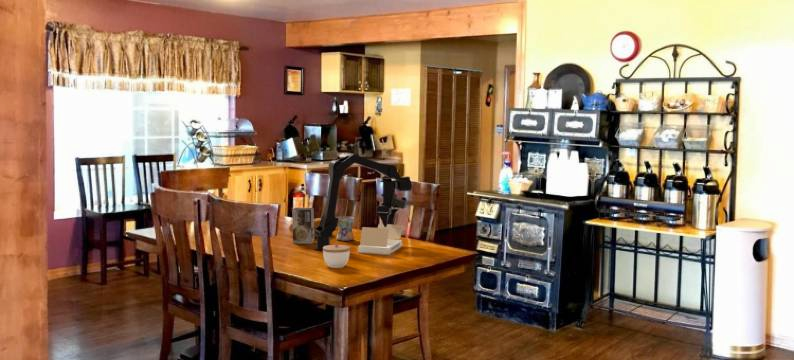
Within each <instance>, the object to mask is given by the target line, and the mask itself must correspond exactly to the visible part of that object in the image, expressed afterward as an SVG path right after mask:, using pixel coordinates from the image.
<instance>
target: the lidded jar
mask: <svg viewBox="0 0 794 360" xmlns="http://www.w3.org/2000/svg"><path fill="white" fill-rule="evenodd" d="M350 250H351V247H350V246H349V245H345V244H339V243H338V242H335V243H334V244H330V245H327V246H324V247H323V250H322V254H323V256H322V257H323V259H324V260H323V261H324V263H325V264H326V265H328V267H329V268H332V269H340V268H341V269H342V268H344V267H345V265H346V264H347V263H348V262H349V259H350V254H351V251H350Z"/></svg>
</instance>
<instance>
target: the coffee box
mask: <svg viewBox="0 0 794 360" xmlns="http://www.w3.org/2000/svg"><path fill="white" fill-rule="evenodd" d="M291 211H292V223H293V233H292V244H299V245H300V244H303V245H304V244H306V245H307V244H308V245H309V244H310V245H312V244H313V243H314V242H315V237H314V219H315V208H314V207H294V208H293V209H292V210H291Z"/></svg>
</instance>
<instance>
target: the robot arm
mask: <svg viewBox="0 0 794 360" xmlns="http://www.w3.org/2000/svg"><path fill="white" fill-rule="evenodd" d="M354 164H356V165H359V166H362V167H364V168H367V169H371V170H374V171H375V172H377V173H378V174H380V175H382V176H381V178H379V179H377V180H378V182H379V183H382V193H381V197H382V203H381V204H378V205H377V206H376V209H375V211H376V213H377V215H378V216H379V218H380V221H381V222H382V223H381V224H383V225H384V227H387V224H388V221H389V224H392V225H394V220H395V217H396V214H397V212H399V210H400V209H402V210H404V209H406V207H407V205H408V203H409V201H408V200H407V199H408V197H405V196H403V197H399V196H398V194H397V193H396V190H397V192H410V191H411V190H412V188H413V185H412V181H411V177H410V176H401V175H400V173H399V172H398V168H397V167H396V166H395V165H393V164H388V163H383V162H377V161H374V160H371V159H369V158H365V156H360V155H358V154H356V153H349V154H348V155H345V156H344V157H342V158H339V159H333V160H331V161H329V162H328V177H329V183H328V190H327V195H326V196H327V197H326V201H325V202H326V203H325V207H324V208H325V209H324V212H323V214H322V215H321V217H320V218H321V221H320V225H319V226H318V227H317V228H316V229H315V233H316V234H317V237H316V244H317V245H316V248H314V249H313V250H314V251H323V247H324V246H327V245H331V238H332V236H333V233H334V232H335V231H336V229H337V228H338V225H337V223H338V219H339V218H338V217H339V216H336V208H337V202H338V201H337V200H338V195H339V188H340V182H341V180H342V178H343V176H344V173H345V171H346V169H348V168H350V167H352V165H354ZM386 177H388V178H386ZM392 179H393V180H392Z"/></svg>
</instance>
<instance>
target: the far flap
mask: <svg viewBox="0 0 794 360" xmlns="http://www.w3.org/2000/svg"><path fill="white" fill-rule="evenodd" d="M377 228H386V229H389V231H388V239H393V240H401V237H402V233H403V229H404V224H390V223H387V227H384V225H383V223H378V226H377Z"/></svg>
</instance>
